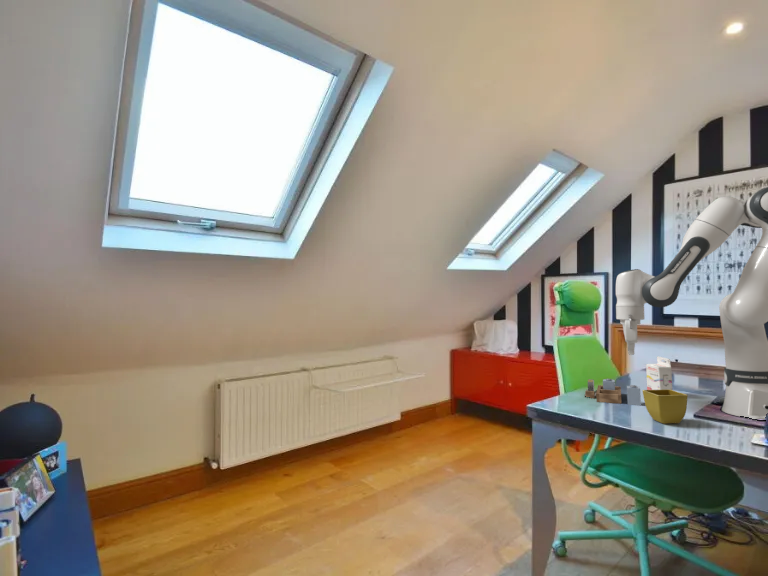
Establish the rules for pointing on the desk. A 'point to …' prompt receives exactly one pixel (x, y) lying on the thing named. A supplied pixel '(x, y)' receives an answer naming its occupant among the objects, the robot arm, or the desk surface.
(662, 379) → the ink cartridge box
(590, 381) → the latch bar
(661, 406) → the flower pot
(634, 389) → the loose jaw
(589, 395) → the housing
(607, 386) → the seated jaw
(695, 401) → the desk surface
